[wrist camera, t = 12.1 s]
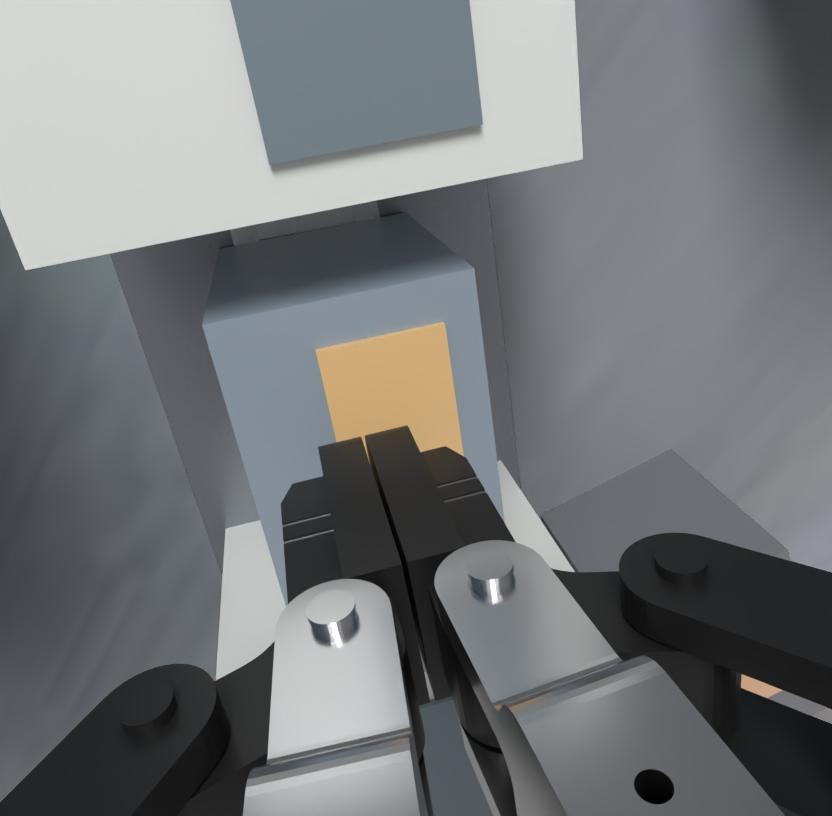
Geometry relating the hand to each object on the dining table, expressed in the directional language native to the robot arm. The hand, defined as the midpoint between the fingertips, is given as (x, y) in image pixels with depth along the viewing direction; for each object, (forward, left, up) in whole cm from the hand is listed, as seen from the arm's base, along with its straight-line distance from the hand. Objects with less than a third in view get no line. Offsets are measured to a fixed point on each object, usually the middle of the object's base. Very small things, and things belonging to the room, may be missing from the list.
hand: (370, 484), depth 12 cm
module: (0, 0, -7) cm, 7 cm away
